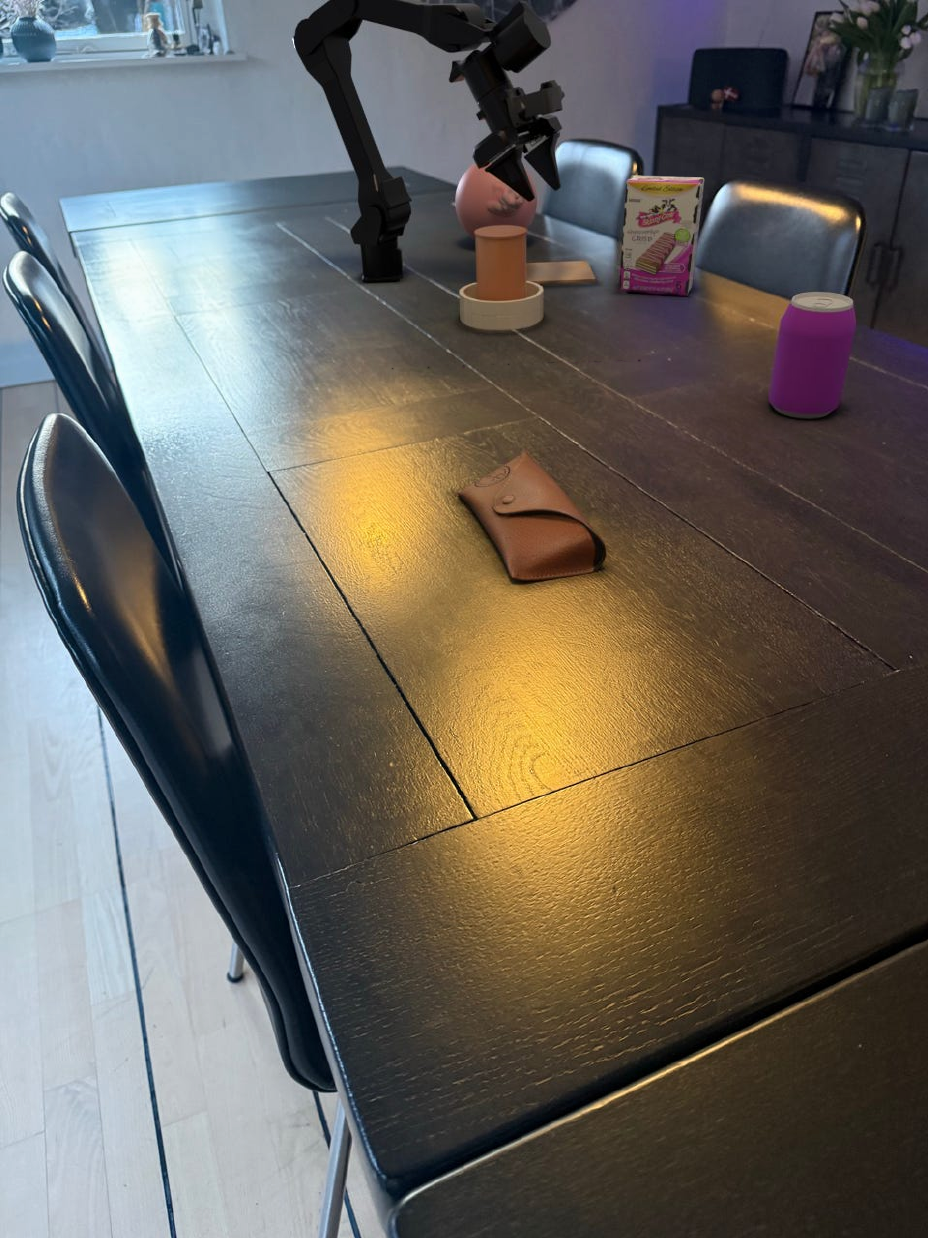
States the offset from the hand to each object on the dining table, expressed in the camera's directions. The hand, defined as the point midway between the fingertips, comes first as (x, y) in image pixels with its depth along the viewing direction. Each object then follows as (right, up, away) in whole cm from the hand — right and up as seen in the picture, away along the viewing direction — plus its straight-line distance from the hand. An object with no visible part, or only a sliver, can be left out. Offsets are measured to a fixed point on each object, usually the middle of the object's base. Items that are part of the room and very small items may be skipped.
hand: (545, 194), depth 135 cm
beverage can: (+26, -40, -33) cm, 58 cm away
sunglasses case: (-7, -56, -53) cm, 78 cm away
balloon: (-6, +7, +37) cm, 38 cm away
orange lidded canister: (-7, -19, -2) cm, 20 cm away
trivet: (+3, -6, +18) cm, 19 cm away
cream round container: (-7, -20, -2) cm, 21 cm away
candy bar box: (+18, -12, +8) cm, 23 cm away
